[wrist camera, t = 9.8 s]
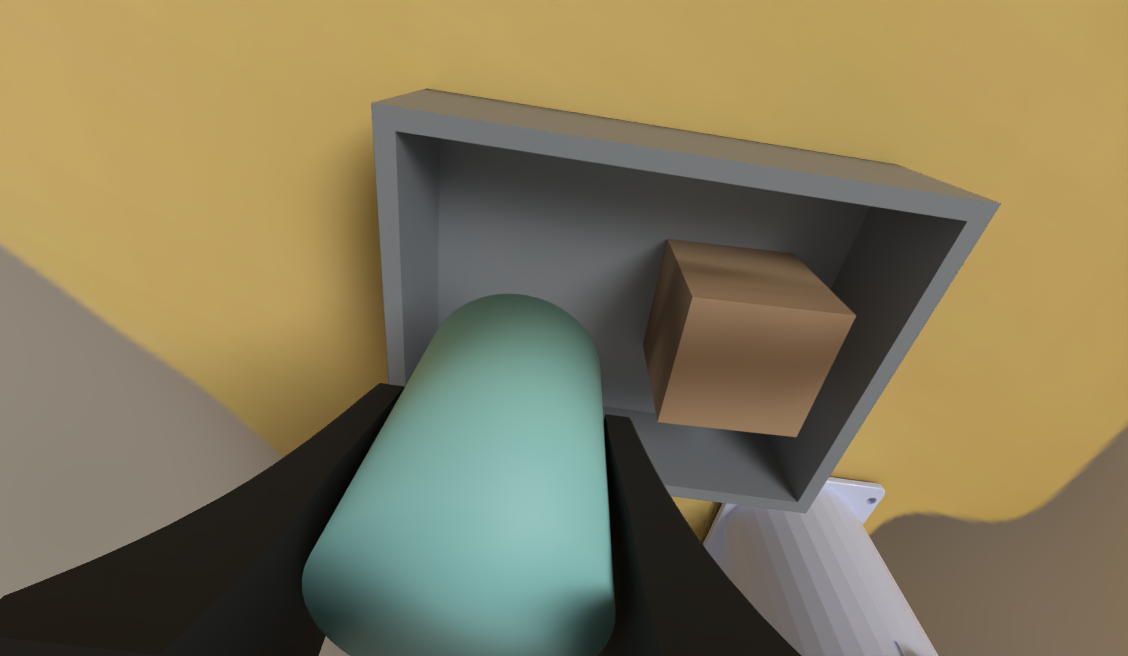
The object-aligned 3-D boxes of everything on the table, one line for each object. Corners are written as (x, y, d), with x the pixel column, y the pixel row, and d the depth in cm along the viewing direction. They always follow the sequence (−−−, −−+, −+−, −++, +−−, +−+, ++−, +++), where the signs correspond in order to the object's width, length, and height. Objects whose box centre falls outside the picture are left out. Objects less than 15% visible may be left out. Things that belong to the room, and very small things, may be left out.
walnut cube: (753, 357, 21) (796, 437, 17) (642, 345, 21) (657, 422, 17) (793, 253, 18) (856, 315, 14) (667, 238, 18) (692, 296, 14)
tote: (766, 430, 24) (806, 513, 20) (428, 383, 23) (393, 459, 19) (897, 164, 17) (1001, 203, 13) (426, 88, 16) (371, 102, 12)
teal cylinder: (582, 448, 15) (581, 707, 9) (426, 424, 15) (314, 673, 9) (618, 310, 13) (652, 534, 6) (432, 278, 12) (285, 479, 6)
